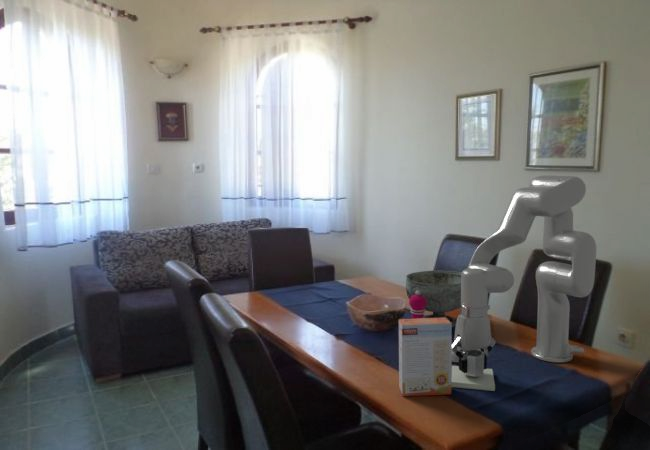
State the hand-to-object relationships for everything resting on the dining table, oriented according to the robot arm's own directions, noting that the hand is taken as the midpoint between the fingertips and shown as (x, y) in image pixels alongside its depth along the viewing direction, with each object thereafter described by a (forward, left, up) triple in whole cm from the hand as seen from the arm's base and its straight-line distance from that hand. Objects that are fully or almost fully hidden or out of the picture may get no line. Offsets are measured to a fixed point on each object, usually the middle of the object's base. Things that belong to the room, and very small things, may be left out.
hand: (472, 369), depth 149 cm
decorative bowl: (+12, -51, -4) cm, 52 cm away
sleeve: (0, 0, -1) cm, 1 cm away
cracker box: (+13, +11, -4) cm, 17 cm away
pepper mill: (+18, -25, -4) cm, 31 cm away
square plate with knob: (0, 0, -3) cm, 3 cm away
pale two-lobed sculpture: (+4, -15, -4) cm, 16 cm away
